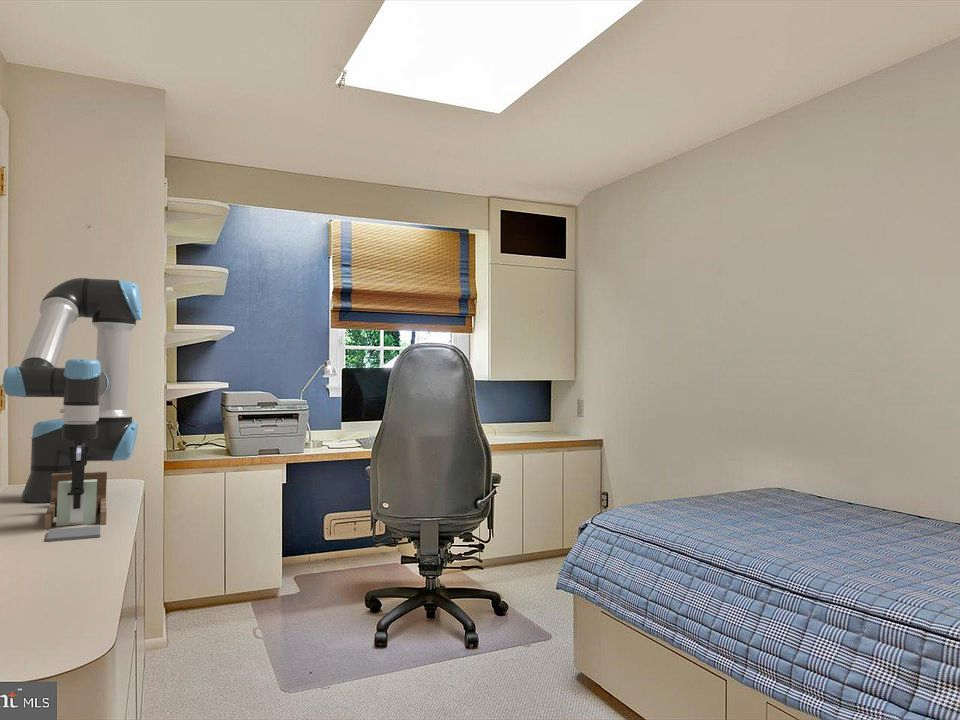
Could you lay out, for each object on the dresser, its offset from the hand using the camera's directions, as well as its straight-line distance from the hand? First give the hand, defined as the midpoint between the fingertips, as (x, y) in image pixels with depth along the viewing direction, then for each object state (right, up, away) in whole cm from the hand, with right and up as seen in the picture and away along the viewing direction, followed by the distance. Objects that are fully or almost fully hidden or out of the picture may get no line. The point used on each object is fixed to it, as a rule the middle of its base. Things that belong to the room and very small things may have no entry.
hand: (76, 520), depth 161 cm
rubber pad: (+7, 0, -12) cm, 14 cm away
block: (0, -1, 0) cm, 1 cm away
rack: (-3, -1, +6) cm, 7 cm away
